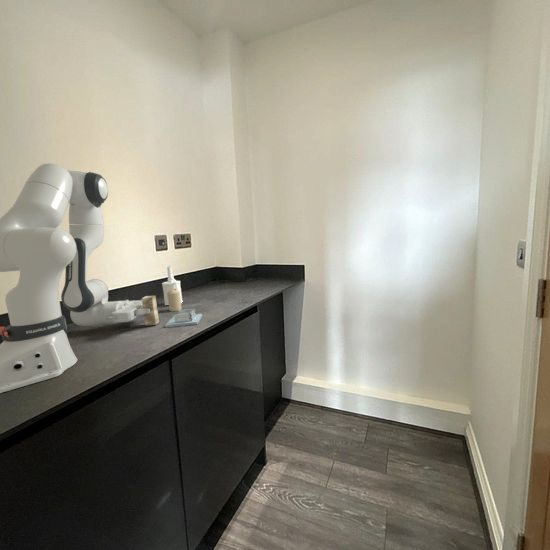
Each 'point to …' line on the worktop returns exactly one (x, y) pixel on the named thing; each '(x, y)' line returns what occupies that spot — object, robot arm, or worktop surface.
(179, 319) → the slot bracket
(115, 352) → the worktop surface
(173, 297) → the candle
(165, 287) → the white tall bottle shape
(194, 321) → the base plate
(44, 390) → the worktop surface
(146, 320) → the beech post
